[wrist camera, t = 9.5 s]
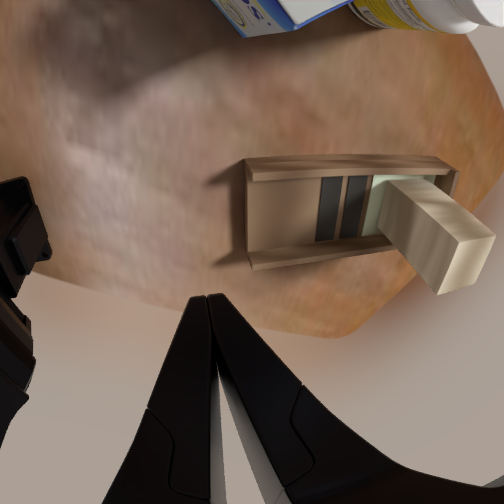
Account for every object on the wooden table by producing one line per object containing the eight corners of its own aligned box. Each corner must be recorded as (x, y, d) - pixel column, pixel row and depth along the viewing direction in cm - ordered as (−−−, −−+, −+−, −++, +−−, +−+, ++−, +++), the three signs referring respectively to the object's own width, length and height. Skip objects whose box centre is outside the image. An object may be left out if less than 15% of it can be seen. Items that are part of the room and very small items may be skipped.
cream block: (376, 226, 24) (436, 295, 17) (387, 179, 21) (459, 242, 15) (414, 222, 24) (474, 283, 18) (426, 179, 22) (496, 235, 16)
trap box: (245, 249, 24) (253, 275, 21) (244, 158, 19) (254, 176, 17) (417, 228, 26) (436, 246, 24) (436, 156, 22) (459, 172, 20)
